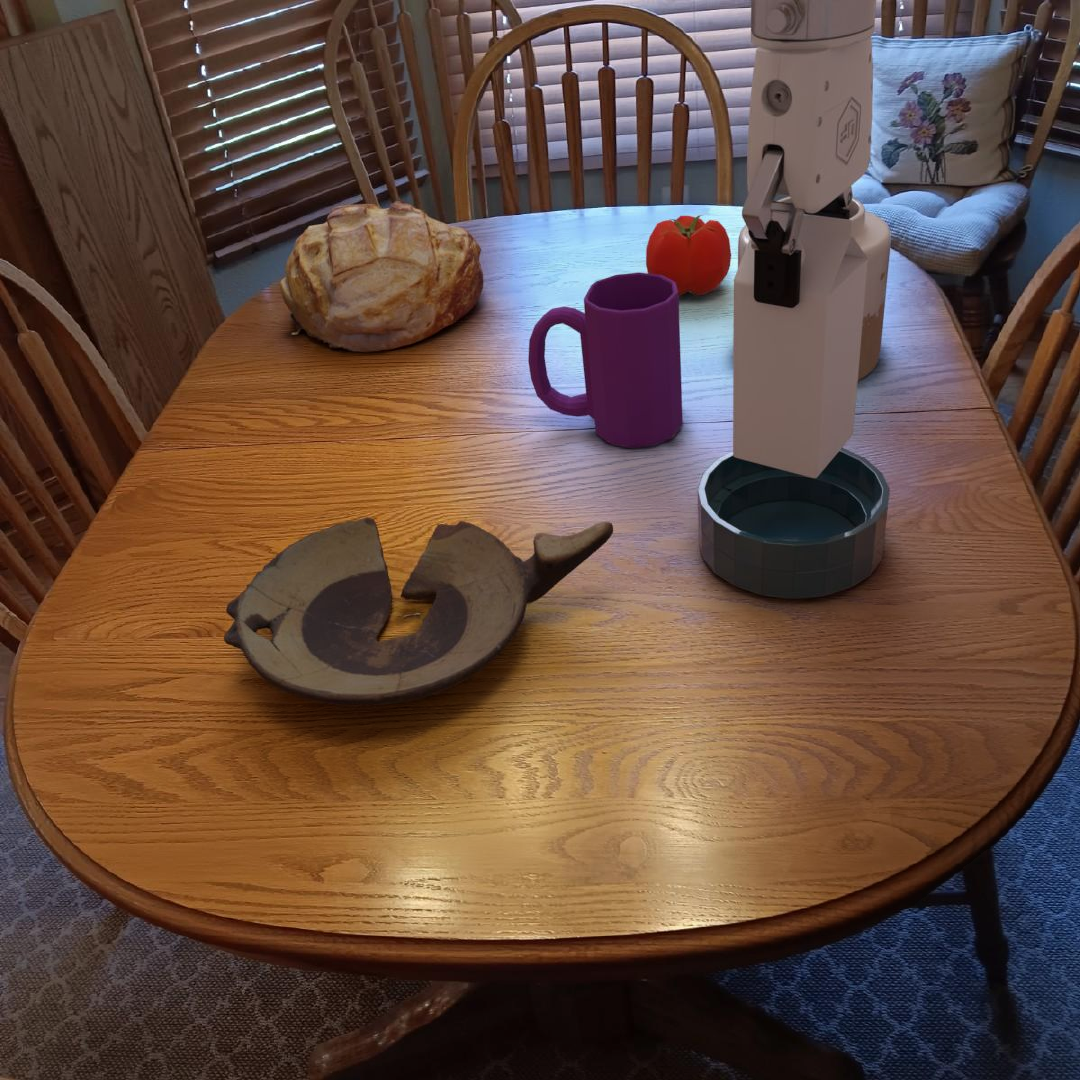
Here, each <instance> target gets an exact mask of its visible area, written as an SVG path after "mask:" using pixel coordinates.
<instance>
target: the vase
mask: <svg viewBox="0 0 1080 1080" xmlns="http://www.w3.org/2000/svg"><path fill="white" fill-rule="evenodd" d="M776 201H777V202H786V203H793V202H792V200H791V197H790V196H786V197H783V198H780V199H778V200H776ZM843 209H847V210H850V215H849V220H853V230H852V236H853V238H854V239H855V240H856V242H857V243H858V245H859V246H860V248H861V249H862V250H863V252H864V253H865V255H866V256H867V258H868V262H867V274H866V287H865V299H864V311H863V323H862V335H861V347H860V359H859V371H858V381H860V380H862V379H864V378H865V377H866V376H868V375H869V374H871V373H872V372H873V371H874V369H875V368H876V367H877V366H878V363H879V360H880V355H881V348H882V340H883V339H882V338H883V329H884V317H885V308H886V307H885V306H886V298H887V297H886V296H887V289H888V288H887V287H888V278H889V267H890V256H891V246H892V245H891V244H892V232H891V229H890V226H889V225H888V223H887V222H886V221H885V220H884V219H882V217H880V216H879V215H876V214H875V213H874V214H873V213H871V212H869V211H866V208H865V206H864V204H863V203H862V202H861V201H859V200H858V199H856V198H854V197H853V198H852V202H851V205H850V207H849V208H844V207H843ZM804 214H805V211H804ZM748 231H749V229H748V227H747V225H746V224H745V225H744V226H743V227H742V229H741V230H740V232H739V235H738V241H737V268H738V267H739V265H740V262H741V260H742V257H743V255H744V252H745V250H746V247H747V245H748V242H749V239H750V236H749V232H748Z"/></svg>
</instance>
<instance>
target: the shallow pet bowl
mask: <svg viewBox="0 0 1080 1080" xmlns="http://www.w3.org/2000/svg"><path fill="white" fill-rule="evenodd" d="M890 493H891V490H890V486H889V484H888V482H887V481H886V479H885V475H884V474H883V472H882V471H881V470H879V468H878V467H876V466H875V465H874V464H873V463H872V462H870V461H869V460H868V459H867V458H866V457H864V456H861V455H860V454H857V453H856V452H853V451H851V450H849V449H846V448H844V447H842V448H841V449H840V451H839V452H838V453H837V454H836V455H835V457H834V458H833V459H832V460H831V461H830V463H829V464H828V465H827V466H826V467H825V468H824V470H823V471H822V472H821V473H820V474H819V476H818V477H817V478H811V477H807V476H803V475H800V474H796V473H792V472H788V471H784V470H781V469H777V468H773V467H769V466H766V465H762V464H758V463H754V462H750V461H747V460H743V459H739V458H736V457H734V456H733V450H732V451H730V452H728V453H726V454H724V455H722V456H720V457H718V458H717V459H716V460H714V462H713V463H712V464H711V465H710V466H709V467H708V468H707V469H706V470H705V471H704V472H703V473H702V475H701V479H700V481H699V484H698V486H697V520H698V521H697V522H698V523H697V524H698V525H697V526H698V543H699V546H700V547H699V549H700V553H701V557H702V559H703V560H704V561H705V563H706V564H707V565H708V566H709V568H710V569H711V570H712V572H713V573H714V574H715V575H717V576H719V577H720V578H722V579H723V580H725V581H726V582H727V583H729V584H731V585H732V586H734V587H736V588H739V589H742V590H745V591H747V592H751V593H754V594H757V595H760V596H765V597H773V598H780V599H781V598H782V599H788V600H789V599H791V600H797V599H798V600H799V599H808V598H809V599H811V598H820V597H826V596H830V595H832V594H836V593H840V592H842V591H845V590H849V589H852V588H853V587H854V586H856V585H858V584H859V583H862V581H864V580H865V579H867V578H868V577H870V576H871V575H872V573H873V572H874V571H875V569H876V568H877V567H878V565H879V564H880V563H881V561H882V559H883V556H884V546H885V537H886V529H887V519H888V510H889V502H890V501H889V500H890Z"/></svg>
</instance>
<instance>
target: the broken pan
mask: <svg viewBox="0 0 1080 1080" xmlns="http://www.w3.org/2000/svg"><path fill="white" fill-rule="evenodd" d="M613 533H614V525H613V523H612V522H610V521H601V522H598V523H595V524H594V525H591V526H589V527H588V528H585V529H583V530H581V531H579V532H576V533H573V534H570V535H555V534H550V533H544V532H538V533H536V534H535V536H534V537H533V554H532V555H531V556H530V557H529V558H528V559H526V560H523V559H522V558H521V557H519V556H517V555H516V554H514V553H513V552H512V551H511V549H510V547H507V545H506V544H505V543H504V542H503V541H501V540H500V539H499V538H498V537H497V536H496V535H494V534H492V533H490V532H488V531H486V530H485V529H483V528H481V527H480V526H478V525H475V524H474V523H471V522H466V521H465V520H459V521H458V523H456V524H447V523H440V524H437V526H435V528H434V530H433V532H432V534H431V537H430V538H429V540H428V543H427V545H426V547H425V549H424V551H423V552H422V553H421V555H420V556H419V558H418V561H417V564H416V565H415V566H414V568H413V570H412V572H410V574H409V575H410V576H409V577H408V579H407V580H406V582H405V583H404V586H403V587H402V590H401V592H400V593H401V594H400V598H402V599H405V600H416V601H420V600H427V601H429V600H431V599H432V598H435V599H434V601H433V603H432V605H431V606H430V608H429V611H428V613H426V614H425V616H424V618H422V622H421V625H420V627H419V628H418V629H417V630H416V632H414V633H411V634H408V635H402V636H400V637H394V638H389V639H387V640H383V641H382V640H381V641H378V637H379V636H380V634H381V633H382V630H383V628H384V627H385V625H386V623H387V622H388V619H389V616H390V615H391V611H392V609H393V608H392V603H393V597H394V596H393V593H392V583H391V580H390V576H389V570H388V568H389V567H388V565H387V562H386V559H385V557H384V549H383V545H382V542H381V538H380V532H379V529H378V525H377V523H376V521H375V519H374V518H372V517H369V516H366V517H363V518H359V519H356V520H347V521H344V522H339V523H335V524H334V525H331V526H330V527H327V528H324V529H321V530H319V531H318V530H317V531H315V532H311V533H309V534H307V535H305V536H304V537H301V538H299V539H298V540H296V541H294V542H293V543H291V544H289V545H288V546H287V547H285V548H284V549H283V550H282V551H280V552H279V553H278V554H276V556H275V557H274V558H272V559H271V560H269V562H268V563H266V564H265V565H263V568H262V570H260V571H258V572H256V574H255V576H254V577H253V579H252V580H251V582H250V583H248V584H246V588H245V589H244V590H243V591H242V592H241V593H240V594H239V595H238V596H237V597H235V598H234V599H232V600H231V601H229V602H228V603H227V605H226V609H225V611H226V613H227V615H229V617H231V618H232V619H233V620H234V621H233V622H232V624H231V626H230V627H229V629H228V630H227V631H225V632H224V635H223V641H224V642H225V644H227V646H228V645H229V646H232V647H233V648H237V649H239V650H241V651H242V653H243V656H244V657H245V659H246V660H247V663H249V665H250V666H251V668H253V670H255V671H256V673H257V674H258V675H259V676H260V677H262V678H263V679H264V680H265V681H267V682H268V683H269V684H271V685H272V686H274V687H276V688H278V689H279V690H281V691H284V692H286V693H288V694H291V695H294V696H296V697H299V698H303V699H306V700H309V701H313V702H317V703H323V704H327V705H338V706H347V707H349V706H350V707H352V706H354V707H355V706H359V707H360V706H376V705H388V704H397V703H406V702H410V701H416V700H421V699H424V698H426V697H427V698H428V697H429V696H432V695H435V694H438V693H441V692H443V691H446V690H448V689H451V688H453V687H456V686H457V685H459V684H461V683H463V682H464V681H467V680H468V679H470V678H471V677H473V676H474V675H477V673H479V672H480V671H481V670H483V669H484V668H485V667H487V666H488V665H489V664H490V663H492V662H493V661H494V660H495V659H496V658H497V657H498V656H500V655H501V653H502V652H503V651H505V649H506V648H507V647H508V646H509V645H510V643H511V642H512V641H513V639H514V638H515V637H516V635H517V633H518V632H519V629H520V627H521V625H522V623H523V620H524V618H525V615H526V609H527V605H528V604H531V603H534V602H537V601H538V600H539V599H541V598H543V597H544V596H545V595H547V594H548V593H549V592H550V590H552V589H553V588H554V587H555V586H556V585H558V584H559V583H560V582H561V581H562V580H564V579H565V578H566V577H567V576H568V575H570V574H571V573H572V572H573V571H574V570H575V569H576V568H578V567H579V566H580V565H581V564H582V563H584V562H585V561H587V559H589V558H590V557H591V556H592V555H593V554H594V553H596V552H597V551H598V550H599V549H600V548H602V547H603V546H604V545H605V544H606V543H607V542H608V541H609V539H611V537H612V535H613ZM415 615H419V616H421V613H420V612H416V613H412V614H410V616H415ZM408 616H409V614H405V615H403V616H402V618H404V617H408ZM262 629H263V630H264V629H269V631H270V633H271V638H270V639H269V638H267V637H265V636H262V635H260V634H258V631H259V630H262Z"/></svg>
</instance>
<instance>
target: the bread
mask: <svg viewBox="0 0 1080 1080" xmlns="http://www.w3.org/2000/svg"><path fill="white" fill-rule="evenodd" d="M481 252H482V248H481V246H480V244H479V243H478V242H477V240H476V238H475V237H474V236H473V235H472V234H471V232H469V231H467V230H466V229H465V228H463V227H460V226H451V225H449V224H447V223H445V222H444V221H443V222H442V221H440V220H437V219H434V218H432V217H430V216H428V213H427V211H426V210H424V209H420V208H417V207H415V206H414V205H412V204H410V203H407V202H405V201H403V200H399V199H395V200H394V202H393V203H391V204H390V206H389V207H386V208H381V207H380V206H378V205H376V204H374V203H359V204H344V205H337V206H335V207H333V208H332V209H331V210H330V213H329V214H328V215H327V218H326V221H325V222H324V223H320V224H314V225H309V226H308V227H307V228H306V229H304V232H303V233H302V234H300V235H299V236H298V238H296V239H295V243H294V246H293V248H292V251H291V253H290V254H289V256H288V258H287V260H286V264H285V275H286V276H285V277H284V278H282V279H281V280H280V283H279V286H280V293H281V298H282V300H283V302H284V304H285V305H286V307H287V309H288V310H289V311H290V318H291V320H292V321H293V322H294V324H295V326H296V329H297V331H296V332H291V334H290V335H291V336H292V335H298V334H299V333H300V332H301V330H302V331H305V332H306V333H305V334H306V335H307V336H309V337H311V338H314V339H317V341H322V342H323V343H328V347H329V348H334V349H338V348H342V349H344V350H346V351H348V352H361V353H368V352H370V353H371V352H380V351H388V350H393V349H397V348H402V347H405V346H409V345H412V344H415V343H418V342H421V341H423V340H425V339H427V338H430V337H431V336H433V335H435V334H437V333H438V332H440V331H441V330H443V329H444V328H446V327H448V326H452V325H453V324H455V323H456V322H457V321H458V320H460V319H461V318H463V317H464V316H466V315H467V314H468V313H469V312H470V311H472V310H473V308H474V307H475V306H476V304H477V303H478V301H479V300H480V297H481V294H482V292H483V289H484V273H483V270H482V265H481V262H480V256H481Z"/></svg>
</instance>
